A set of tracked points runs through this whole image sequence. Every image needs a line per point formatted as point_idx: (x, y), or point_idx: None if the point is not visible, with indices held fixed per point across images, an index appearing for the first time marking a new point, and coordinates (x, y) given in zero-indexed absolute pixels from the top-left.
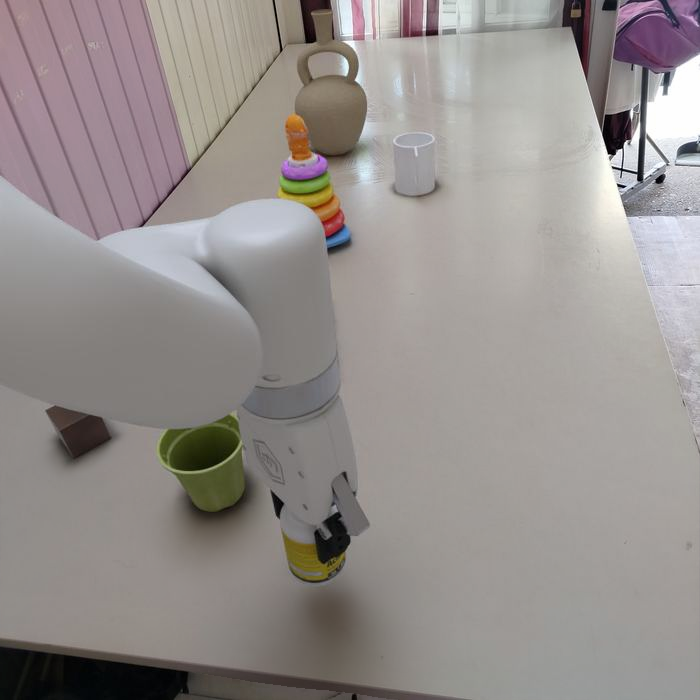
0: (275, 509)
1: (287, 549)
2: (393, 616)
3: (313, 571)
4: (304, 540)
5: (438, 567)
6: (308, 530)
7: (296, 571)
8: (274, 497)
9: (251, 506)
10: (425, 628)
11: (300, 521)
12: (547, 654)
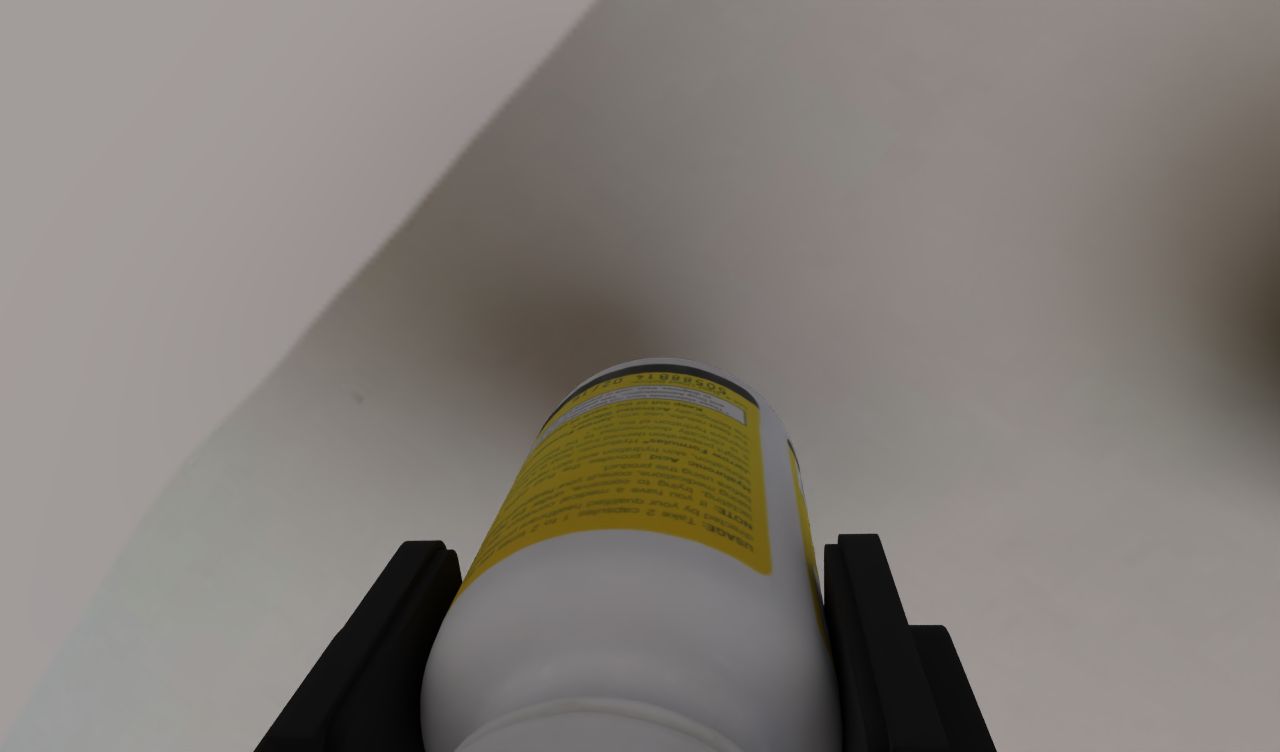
0: (877, 582)
1: (650, 445)
2: (449, 506)
3: (530, 454)
4: (471, 598)
5: None
6: (467, 680)
7: (617, 388)
8: (882, 693)
9: (1230, 390)
10: (363, 548)
11: (492, 720)
12: (144, 712)
